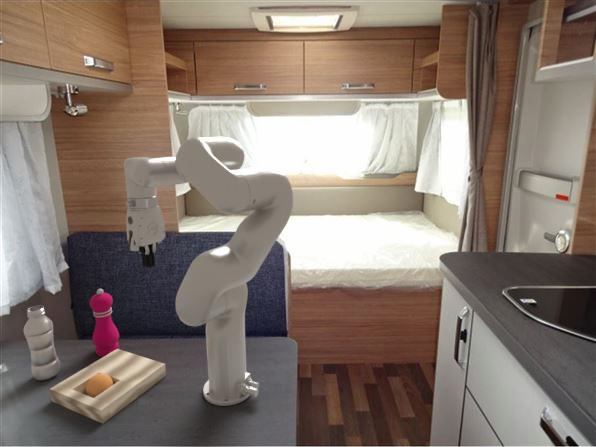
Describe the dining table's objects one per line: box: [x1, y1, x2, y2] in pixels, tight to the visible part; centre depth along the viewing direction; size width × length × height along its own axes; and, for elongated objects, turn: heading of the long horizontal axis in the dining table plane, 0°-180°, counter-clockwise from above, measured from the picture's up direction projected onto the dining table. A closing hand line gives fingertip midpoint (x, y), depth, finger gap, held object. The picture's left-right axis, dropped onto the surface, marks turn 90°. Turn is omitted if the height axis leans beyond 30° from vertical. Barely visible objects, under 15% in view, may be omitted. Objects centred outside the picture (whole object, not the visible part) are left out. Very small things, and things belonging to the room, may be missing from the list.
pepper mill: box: [89, 288, 120, 357], centre depth 118 cm, size 7×7×20 cm
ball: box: [86, 373, 113, 398], centre depth 99 cm, size 6×6×6 cm
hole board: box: [49, 348, 167, 424], centre depth 102 cm, size 18×20×4 cm
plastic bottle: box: [23, 304, 61, 381], centre depth 105 cm, size 6×7×20 cm
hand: (149, 266), depth 113 cm, fingers closed
